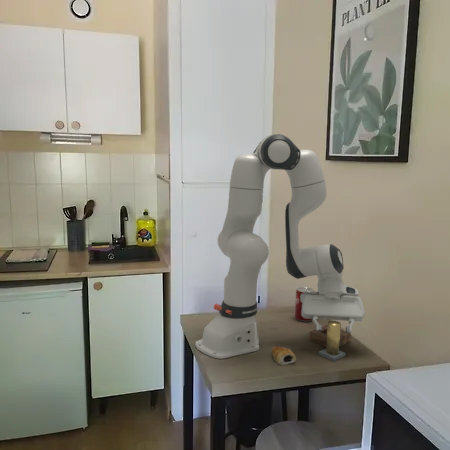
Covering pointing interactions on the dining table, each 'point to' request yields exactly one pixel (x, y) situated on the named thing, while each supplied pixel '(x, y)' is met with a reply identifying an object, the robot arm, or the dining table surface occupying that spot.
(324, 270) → the robot arm
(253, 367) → the dining table surface
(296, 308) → the soda can
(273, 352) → the pastry
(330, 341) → the peg
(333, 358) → the mat
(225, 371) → the dining table surface
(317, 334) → the wooden square frame
